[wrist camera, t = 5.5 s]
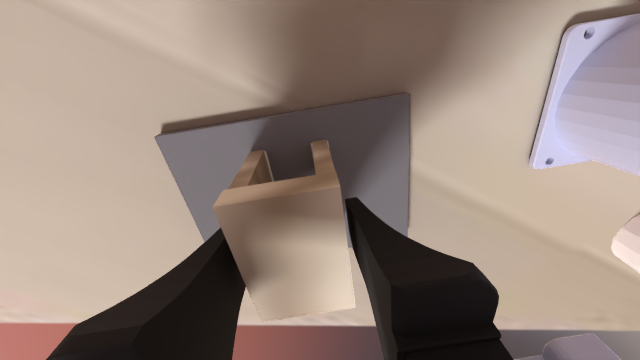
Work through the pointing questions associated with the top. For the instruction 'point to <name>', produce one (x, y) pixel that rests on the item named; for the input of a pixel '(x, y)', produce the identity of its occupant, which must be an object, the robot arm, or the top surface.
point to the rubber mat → (301, 155)
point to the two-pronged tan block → (288, 238)
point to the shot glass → (628, 243)
